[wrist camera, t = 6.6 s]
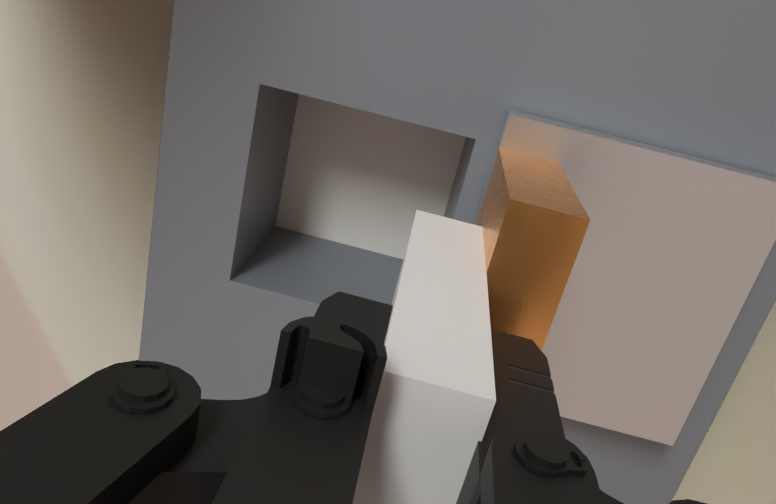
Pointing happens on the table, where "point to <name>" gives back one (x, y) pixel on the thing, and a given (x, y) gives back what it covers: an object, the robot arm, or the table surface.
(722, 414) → the table surface
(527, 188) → the shutter
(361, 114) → the socket
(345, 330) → the robot arm
